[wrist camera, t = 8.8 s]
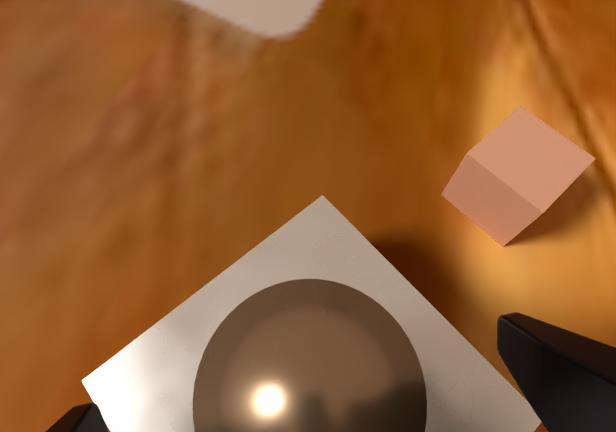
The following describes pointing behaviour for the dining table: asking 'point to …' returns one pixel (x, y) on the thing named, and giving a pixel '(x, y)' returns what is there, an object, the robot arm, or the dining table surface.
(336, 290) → the cover
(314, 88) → the dining table surface
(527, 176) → the visible block
